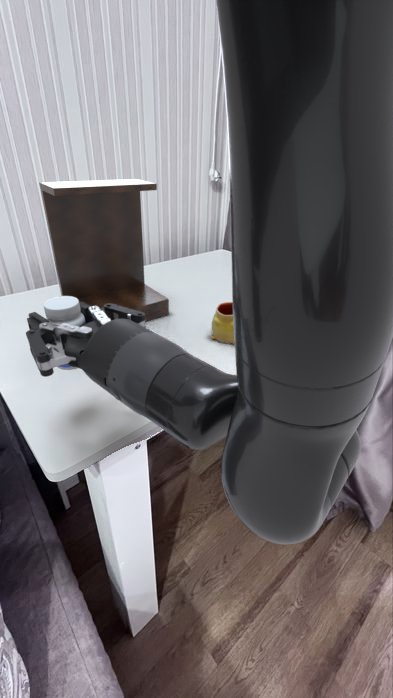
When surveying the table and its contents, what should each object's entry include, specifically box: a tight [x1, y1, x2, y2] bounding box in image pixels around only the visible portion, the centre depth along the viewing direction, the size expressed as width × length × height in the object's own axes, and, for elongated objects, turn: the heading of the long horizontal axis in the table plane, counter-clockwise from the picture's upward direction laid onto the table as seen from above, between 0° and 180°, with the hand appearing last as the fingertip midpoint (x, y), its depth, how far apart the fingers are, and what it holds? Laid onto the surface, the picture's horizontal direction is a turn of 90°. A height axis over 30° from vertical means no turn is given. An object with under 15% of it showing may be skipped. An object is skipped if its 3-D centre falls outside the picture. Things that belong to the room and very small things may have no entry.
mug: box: [210, 301, 235, 345], centre depth 70 cm, size 12×7×7 cm, turn 152°
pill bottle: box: [43, 295, 86, 371], centre depth 41 cm, size 5×5×8 cm
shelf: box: [39, 178, 170, 323], centre depth 69 cm, size 20×12×27 cm, turn 127°
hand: (53, 313), depth 42 cm, fingers closed on pill bottle, 4 cm apart
